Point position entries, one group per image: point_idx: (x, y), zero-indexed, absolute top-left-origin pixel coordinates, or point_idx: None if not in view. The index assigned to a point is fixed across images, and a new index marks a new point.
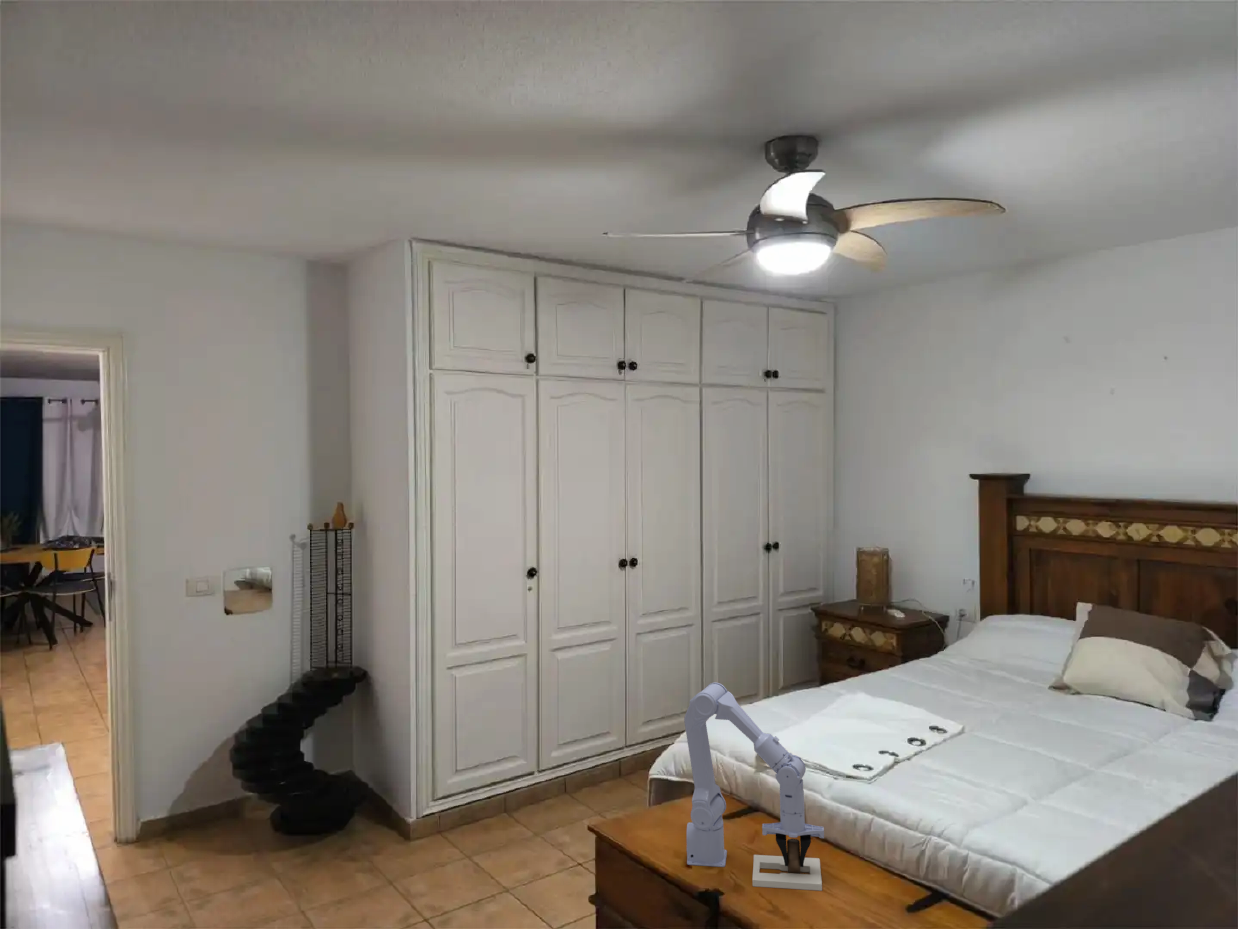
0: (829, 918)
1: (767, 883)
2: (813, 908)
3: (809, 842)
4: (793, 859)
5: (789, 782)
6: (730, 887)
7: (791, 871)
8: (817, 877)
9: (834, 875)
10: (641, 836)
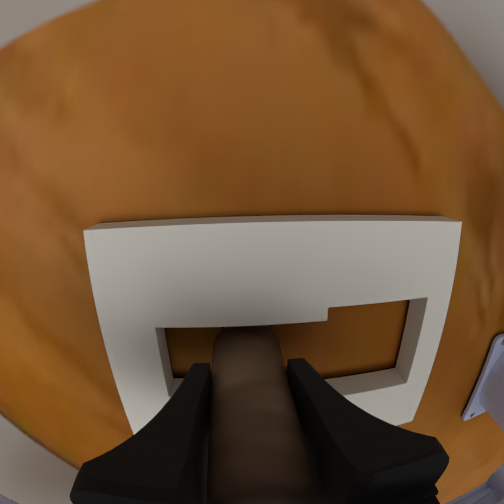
0: (87, 9)
1: (395, 219)
2: (146, 56)
3: (75, 485)
4: (255, 386)
5: None
6: (501, 207)
7: (263, 340)
8: (112, 301)
9: (74, 365)
10: None
